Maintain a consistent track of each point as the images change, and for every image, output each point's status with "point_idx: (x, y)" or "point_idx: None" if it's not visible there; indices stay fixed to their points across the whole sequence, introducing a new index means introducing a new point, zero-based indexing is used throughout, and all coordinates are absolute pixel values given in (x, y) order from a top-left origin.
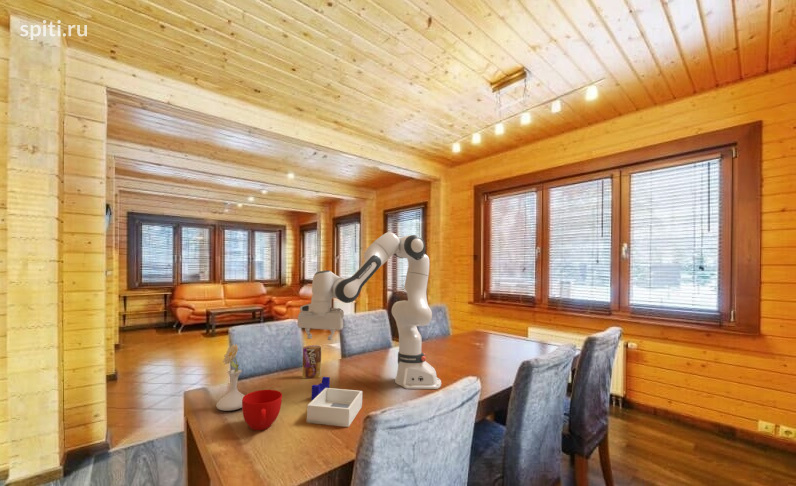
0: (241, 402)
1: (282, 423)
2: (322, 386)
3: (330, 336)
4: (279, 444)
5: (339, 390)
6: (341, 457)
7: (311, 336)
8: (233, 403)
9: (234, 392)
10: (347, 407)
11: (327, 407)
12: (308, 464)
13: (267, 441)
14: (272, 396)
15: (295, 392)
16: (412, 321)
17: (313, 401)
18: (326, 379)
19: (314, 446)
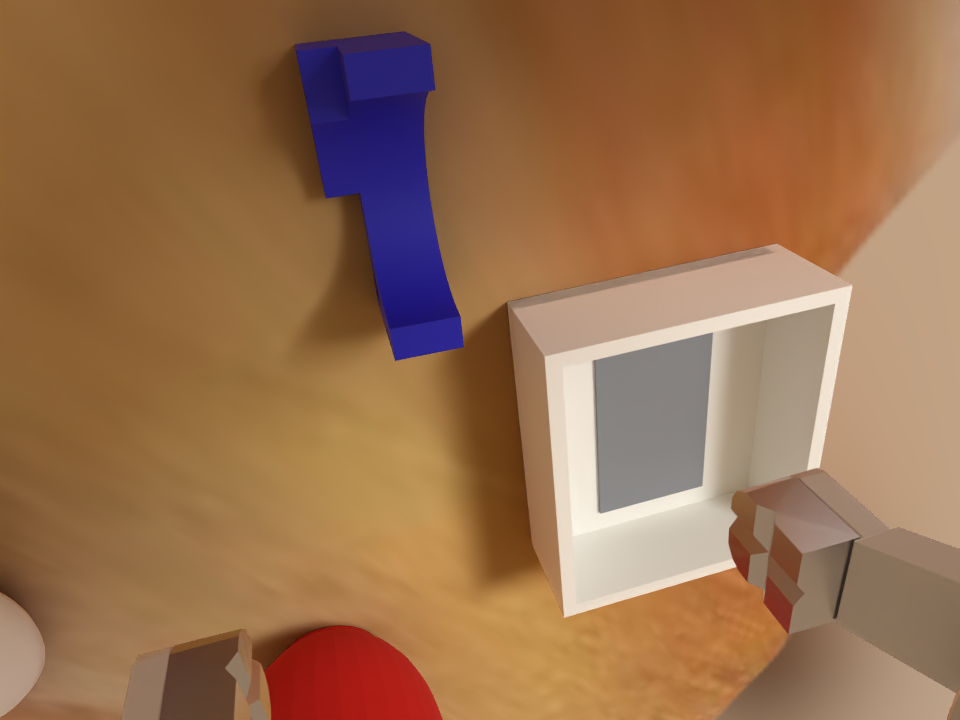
0: (23, 671)
1: (417, 602)
2: (372, 122)
3: (853, 610)
4: (520, 695)
5: (670, 339)
6: (767, 640)
7: (237, 676)
8: (1, 712)
9: None
10: (709, 350)
11: (683, 580)
12: (676, 706)
13: (460, 706)
14: (323, 711)
15: (114, 220)
16: None
17: (574, 570)
18: (407, 92)
19: (655, 644)
